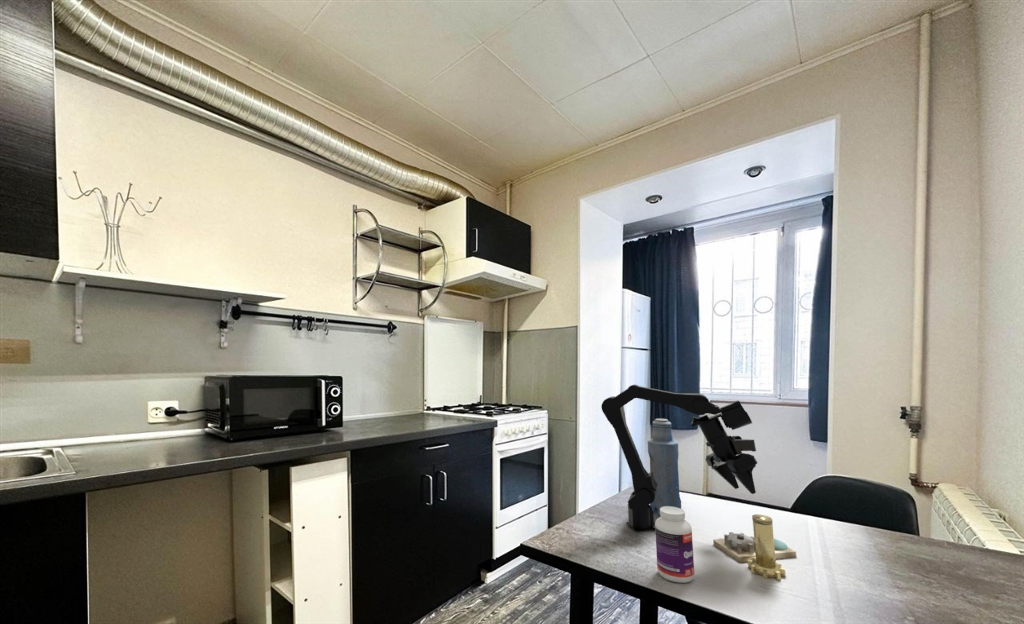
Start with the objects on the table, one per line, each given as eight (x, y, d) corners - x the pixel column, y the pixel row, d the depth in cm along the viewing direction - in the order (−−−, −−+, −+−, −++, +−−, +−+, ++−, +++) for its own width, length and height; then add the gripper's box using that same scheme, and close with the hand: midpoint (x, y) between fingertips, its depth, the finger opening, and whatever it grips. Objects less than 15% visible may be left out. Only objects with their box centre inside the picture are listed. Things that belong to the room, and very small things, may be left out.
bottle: (647, 506, 137) (642, 417, 141) (677, 507, 136) (671, 417, 140) (654, 517, 128) (649, 421, 132) (686, 518, 127) (680, 421, 131)
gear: (764, 581, 90) (760, 524, 92) (741, 565, 97) (737, 512, 99) (793, 578, 91) (788, 522, 93) (768, 562, 98) (763, 511, 100)
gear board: (739, 562, 99) (738, 545, 99) (713, 544, 108) (712, 529, 109) (799, 556, 101) (797, 540, 102) (768, 539, 111) (767, 524, 112)
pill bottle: (692, 589, 87) (687, 519, 89) (654, 578, 91) (650, 512, 93) (697, 572, 94) (693, 508, 96) (661, 563, 98) (658, 502, 100)
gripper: (758, 424, 106) (791, 483, 102) (726, 425, 124) (753, 475, 120) (720, 441, 106) (752, 501, 101) (694, 439, 123) (720, 490, 119)
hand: (745, 490), depth 110 cm, fingers open, 9 cm apart
